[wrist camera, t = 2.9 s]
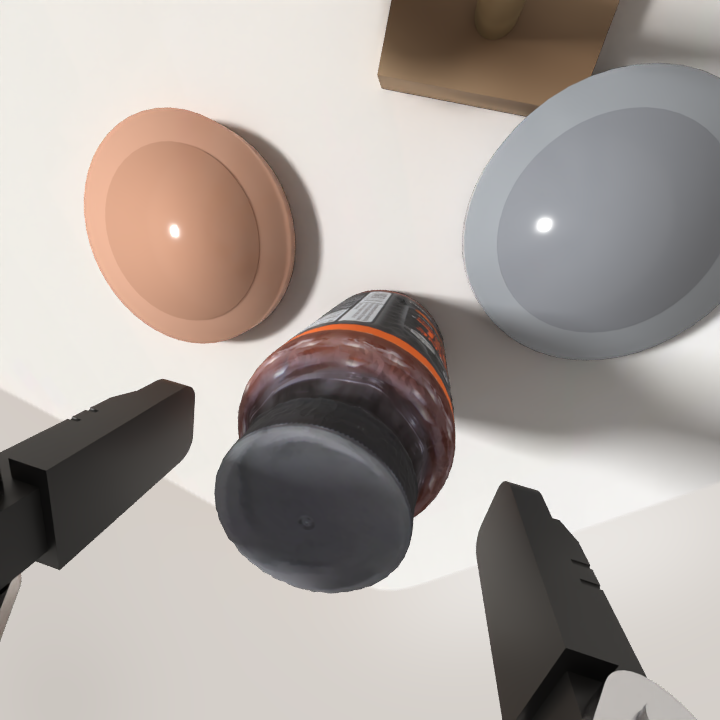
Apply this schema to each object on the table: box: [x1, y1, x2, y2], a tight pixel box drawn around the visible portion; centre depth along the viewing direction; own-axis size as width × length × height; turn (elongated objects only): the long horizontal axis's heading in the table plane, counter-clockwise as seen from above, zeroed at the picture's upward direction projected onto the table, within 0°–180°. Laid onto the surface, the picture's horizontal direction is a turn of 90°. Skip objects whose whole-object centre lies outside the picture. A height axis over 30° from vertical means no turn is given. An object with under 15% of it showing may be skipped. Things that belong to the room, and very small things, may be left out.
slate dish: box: [462, 63, 720, 360], centre depth 13 cm, size 10×10×1 cm
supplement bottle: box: [215, 290, 455, 593], centre depth 12 cm, size 6×6×11 cm
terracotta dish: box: [84, 108, 296, 343], centre depth 16 cm, size 10×10×1 cm
